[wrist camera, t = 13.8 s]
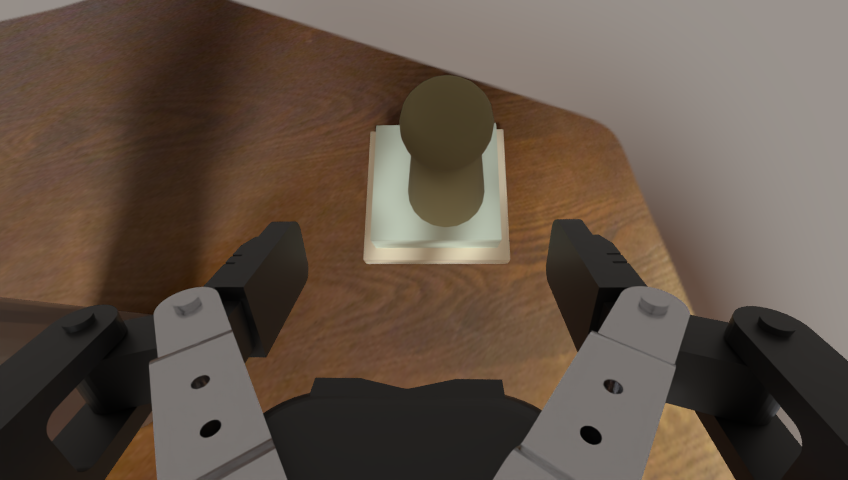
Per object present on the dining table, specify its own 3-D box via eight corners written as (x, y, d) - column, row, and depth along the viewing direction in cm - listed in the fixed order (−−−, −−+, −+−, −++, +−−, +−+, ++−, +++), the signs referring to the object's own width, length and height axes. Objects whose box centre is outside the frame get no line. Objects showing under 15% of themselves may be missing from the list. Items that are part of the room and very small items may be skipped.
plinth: (367, 263, 33) (356, 252, 29) (373, 140, 36) (365, 115, 32) (507, 263, 32) (515, 252, 28) (500, 138, 35) (507, 112, 31)
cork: (470, 237, 29) (485, 173, 18) (396, 213, 29) (369, 137, 19) (494, 169, 30) (521, 72, 19) (423, 147, 31) (412, 43, 20)
